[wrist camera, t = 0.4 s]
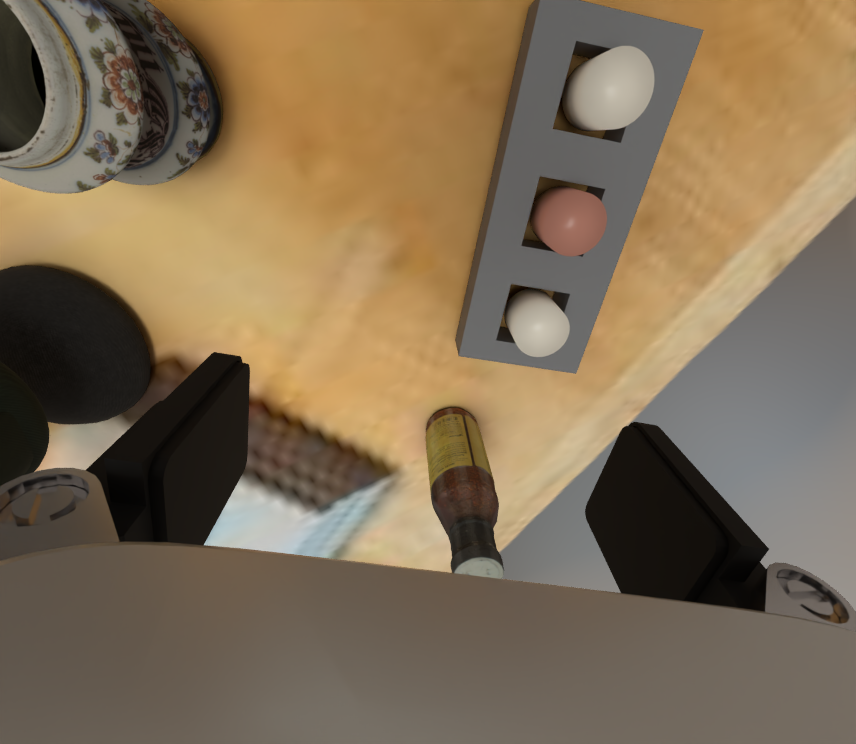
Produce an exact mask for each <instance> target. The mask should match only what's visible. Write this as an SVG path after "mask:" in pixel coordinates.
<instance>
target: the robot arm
mask: <svg viewBox="0 0 856 744" xmlns="http://www.w3.org/2000/svg"><path fill="white" fill-rule="evenodd" d="M249 379H250V367H249V365H248V364H246V363H242V358H241V357H240V356H234V355H228V354H222V353H216V352H214V353H212V354H211V355H210V356H209V357H208V358H207V359H206V360H205V361H204V362H203V363H202V364H201V365H200V366H199V367H198V368H197V369H196V370H195V371H194V372H193V373H192V374H191V375H189V376H188V377H187V378H186V379H185V380H184V381H183V382H182V383H181V384H180V385H179V386H178V387H177V388H176V389H175V390H174V391H173V392H172V393H171V394H170V395H169V396H168V397H167V398H166V399H165V400H164V401H159V402H158V403H156V404H155V405H154V406H153V407H152V408H151V409H150V410H149V411H147V412H146V413H145V414H144V415H143V416H142V417H141V418H140V419H139V420H138V421H137V422H136V423H135V424H134V425H133V426H132V427H131V428H130V429H129V430H127V431H126V432H125V433H124V434H123V435H122V436H121V437H120V438H119V439H118V440H117V441H116V442H115V443H114V444H113V445H112V446H111V447H110V448H109V449H107V450H106V451H105V452H104V453H103V454H102V455H101V456H100V457H99V458H98V459H97V460H96V461H95V462H94V463H93V464H92V465H91V466H90V467H89V468H87V469H86V470H80V469H75V468H53V469H47V470H41V471H36V472H33V473H30V474H26V475H23V476H20V477H18V478H16V479H14V480H11V481H9V482H7V483H5V484H3V485H2V486H0V744H856V611H855V610H854V609H853V608H852V606H851V605H850V604H849V602H848V601H847V600H846V599H845V598H843V596H841V594H839V593H838V592H837V591H836V590H835V589H833V588H832V587H831V586H830V585H828V584H827V583H826V582H824V581H823V580H821V579H820V578H818V577H816V576H815V575H813V574H811V573H810V572H808V571H805V570H803V569H801V568H799V567H797V566H793V565H790V564H786V563H773V564H771V565H769V566H768V568H767V569H765V568H764V567H763V565H762V564H761V563H760V561H761V559H762V558H763V557H764V555H765V554H766V553H767V551H768V550H769V548H768V547H767V546H766V545H765V544H764V543H763V542H762V541H761V540H760V538H758V536H757V535H756V534H755V533H754V532H753V531H752V530H751V528H750V527H749V526H748V525H747V524H746V523H745V522H744V521H743V520H742V519H741V517H740V516H739V515H738V514H737V513H736V512H735V511H734V510H733V509H732V507H731V506H730V505H729V504H728V503H727V502H726V501H725V500H724V499H723V497H722V496H721V495H720V494H719V493H718V492H717V491H716V490H715V489H714V487H713V486H712V485H711V484H710V483H709V482H708V481H707V480H706V479H705V477H703V475H702V474H701V473H700V472H699V471H698V470H697V469H696V467H695V466H694V465H693V464H692V463H691V462H690V461H689V460H688V459H687V458H686V456H685V455H684V454H683V453H682V452H681V451H680V450H679V449H678V447H677V446H676V445H675V444H674V443H673V442H672V441H671V440H670V439H669V437H668V436H667V435H666V434H665V433H664V432H663V431H662V430H661V429H660V428H659V427H658V426H656V425H650V424H644V423H638V422H633V423H631V424H630V425H629V426H626V427H624V428H623V429H622V430H621V432H620V434H619V436H618V438H617V440H616V443H615V445H614V447H613V449H612V451H611V453H610V456H609V458H608V460H607V462H606V464H605V466H604V468H603V471H602V473H601V475H600V477H599V479H598V481H597V484H596V485H595V488H594V490H593V492H592V494H591V496H590V499H589V501H588V503H587V505H586V510H585V514H586V519H587V522H588V523H589V526H590V528H591V530H592V532H593V534H594V536H595V538H596V541H597V543H598V545H599V547H600V549H601V551H602V553H603V556H604V558H605V560H606V562H607V564H608V566H609V568H610V570H611V572H612V575H613V577H614V579H615V581H616V583H617V585H618V587H619V589H620V591H621V593H615V592H607V591H597V590H590V589H582V588H574V587H565V586H557V585H549V584H540V583H532V582H523V581H515V580H507V579H498V578H490V577H482V576H473V575H465V574H457V573H448V572H440V571H432V570H423V569H415V568H407V567H398V566H390V565H381V564H373V563H364V562H355V561H346V560H338V559H329V558H320V557H311V556H303V555H294V554H285V553H276V552H268V551H259V550H250V549H241V548H230V547H218V546H206V545H204V543H205V541H206V540H207V538H208V536H209V534H210V532H211V530H212V529H213V527H214V525H215V523H216V521H217V519H218V518H219V516H220V514H221V512H222V510H223V508H224V507H225V505H226V503H227V501H228V499H229V497H230V496H231V494H232V492H233V490H234V488H235V486H236V485H237V483H238V481H239V479H240V477H241V475H242V474H243V472H244V469H245V466H246V462H247V451H248V415H249Z"/></svg>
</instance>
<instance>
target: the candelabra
mask: <svg viewBox="0 0 856 744" xmlns="http://www.w3.org/2000/svg"><path fill="white" fill-rule="evenodd" d="M150 371H151V367H150V357H149V353H148V349H147V346H146V343H145V341H144V339H143V337H142V334H141V333H140V331H139V329H138V327H137V325H136V324H135V322H134V320H133V319H132V318H131V317H129V315H128V314H127V313H126V312H125V310H124V309H123V308H122V307H121V306H120V305H119V304H118V303H117V302H116V301H115V300H114V299H112V298H111V297H109V296H108V295H107V294H105V293H104V292H103V291H102V290H100V289H99V288H97V287H95V286H94V285H92V284H90V283H89V282H87V281H85V280H83V279H81V278H79V277H76V276H74V275H72V274H69V273H66V272H63V271H60V270H57V269H52V268H47V267H42V266H16V267H10V268H7V269H3V270H0V486H2V485H3V484H5V483H7V482H9V481H11V480H14V479H16V478H18V477H20V476H23V475H26V474H30V473H33V472H34V471H35V470H36V469H37V468H38V467H39V465H40V464H41V462H42V460H43V458H44V456H45V454H46V452H47V448H48V443H49V427H48V422H51V423H58V424H87V423H96V422H100V421H104V420H108V419H110V418H112V417H115V416H117V415H119V414H121V413H123V412H124V411H126V410H128V409H129V408H131V407H132V406H134V405H135V404H136V403H137V402H138V401H139V400H140V399H141V397H142V396H143V394H144V392H145V391H146V389H147V386H148V383H149V380H150Z"/></svg>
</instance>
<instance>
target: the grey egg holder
mask: <svg viewBox="0 0 856 744" xmlns="http://www.w3.org/2000/svg"><path fill="white" fill-rule="evenodd" d="M703 31H704V30H702V29H697V28H693V27H689V26H685V25H681V24H676V23H672V22H668V21H664V20H660V19H656V18H651V17H647V16H643V15H639V14H635V13H630V12H626V11H622V10H618V9H614V8H609V7H605V6H601V5H597V4H593V3H589V2H584V1H580V0H535V1H534V2H533V3H532V4H531V5H530V7H529V9H528V14H527V18H526V23H525V27H524V32H523V36H522V41H521V45H520V50H519V54H518V59H517V63H516V68H515V72H514V77H513V81H512V86H511V91H510V95H509V100H508V104H507V109H506V113H505V118H504V122H503V127H502V131H501V136H500V140H499V145H498V149H497V154H496V158H495V163H494V167H493V172H492V177H491V181H490V186H489V190H488V195H487V199H486V204H485V208H484V213H483V217H482V222H481V226H480V231H479V235H478V240H477V244H476V249H475V253H474V258H473V262H472V267H471V272H470V276H469V281H468V285H467V290H466V294H465V299H464V303H463V308H462V312H461V317H460V321H459V326H458V330H457V335H456V339H455V340H456V345H457V350H458V355H459V356H461V357H468V358H475V359H482V360H488V361H495V362H502V363H508V364H515V365H522V366H528V367H535V368H542V369H548V370H555V371H562V372H569V373H575V374H576V372H577V370H578V367H579V364H580V362H581V359H582V356H583V354H584V351H585V348H586V346H587V343H588V340H589V337H590V335H591V332H592V329H593V327H594V324H595V321H596V319H597V316H598V313H599V311H600V308H601V305H602V302H603V300H604V297H605V294H606V292H607V289H608V286H609V284H610V281H611V278H612V276H613V273H614V270H615V267H616V265H617V262H618V259H619V257H620V254H621V251H622V249H623V246H624V243H625V241H626V238H627V235H628V232H629V230H630V227H631V224H632V222H633V219H634V216H635V214H636V211H637V208H638V206H639V203H640V200H641V197H642V195H643V192H644V189H645V187H646V184H647V181H648V179H649V176H650V173H651V171H652V168H653V165H654V162H655V160H656V157H657V154H658V152H659V149H660V146H661V144H662V141H663V138H664V136H665V133H666V130H667V127H668V125H669V122H670V119H671V117H672V114H673V111H674V109H675V106H676V103H677V101H678V98H679V95H680V93H681V90H682V87H683V84H684V82H685V79H686V76H687V74H688V71H689V68H690V66H691V63H692V60H693V58H694V55H695V52H696V49H697V47H698V44H699V41H700V39H701V36H702V33H703ZM619 46H632V47H635V48H638V49H640V50H641V51H642V52H644V53H645V54H646V55H647V57H648V58H649V60H650V62H651V64H652V67H653V70H654V89H653V93H652V97H651V99H650V101H649V103H648V105H647V107H646V109H645V110H644V112H643V113H642V114H641V115H640V116H639V117H638V118H637V119H636V120H635V121H634V122H632V123H631V124H629V125H627V126H625V127H623V128H619V129H612V130H606V131H605V134H604V138H603V139H599V138H595V137H590V136H585V135H580V134H575V133H570V132H566V131H561V130H556V129H553V125H554V122H555V118H556V114H557V110H558V107H559V103H560V99H561V95H562V92H563V88H564V84H565V80H566V77H567V73H568V69H569V65H570V62H571V58H572V54H575V55H580V56H584V57H589V58H594V57H596V56H598V55H600V54H602V53H604V52H606V51H609V50H611V49H613V48H616V47H619ZM540 176H541V177H547V178H552V179H557V180H562V181H567V182H572V183H577V184H582V185H588V188H587V191H586V192H587V193H591V194H593V195H595V196H596V197H597V198H598V199H600V201H601V202H602V203H603V205H604V207H605V210H606V214H607V224H606V229H605V232H604V234H603V236H602V238H601V239H600V241H599V242H598V243H597V245H596V246H595V247H593V248H592V249H591V250H590V251H588V252H586V253H584V254H582V255H578V256H564V255H561V254H558V253H557V252H555V251H554V250H553V249H551V248H550V247H549V246H547V245H546V244H545V243H542V242H537V241H531V240H525V239H523V238H524V234H525V230H526V226H527V223H528V219H529V215H530V212H531V208H532V204H533V200H534V197H535V193H536V189H537V185H538V182H539V178H540ZM511 284H515V285H520V286H526V287H532V288H538V289H544V290H550V291H555V293H554V296H553V299H552V300H553V301H554V302H555V303H556V304H557V306H558V307H559V308H560V309H561V310H562V311H563V312H564V314H565V315H566V316H567V318H568V321H569V325H570V331H569V336H568V338H567V340H566V342H565V343H564V345H563V346H562V347H561V348H560V349H559V350H558V351H556V352H555V353H553V354H551V355H548V356H544V357H533V356H529V355H527V354H525V353H523V352H522V351H521V350H520V349H519V348H518V346H517V345H516V343H515V341H514V339H513V337H512V335H511V333H510V331H509V329H508V328H505V327H500V324H501V320H502V316H503V313H504V309H505V305H506V301H507V298H508V294H509V290H510V286H511Z"/></svg>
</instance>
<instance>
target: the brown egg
mask: <svg viewBox="0 0 856 744" xmlns="http://www.w3.org/2000/svg"><path fill="white" fill-rule="evenodd" d="M530 223H531V227H532V230H533V232H534V234H535V235H536V236H537V238H539V239H540V240H541V241H542V242H544V243H545V244H546V245H547V246H549V247H550V248H551V249H553V250H554V251H555V252H557V253H558V254H561V255H564V256H578V255H582V254H584V253H586V252H588V251H590V250H591V249H592V248H593V247H595V246H596V245H597V243H598V242H599V241H600V239H601V238H602V236H603V234H604V232H605V229H606V224H607V214H606V210H605V207H604V205H603V203H602V202H601V201H600V199H598V198H597V197H596V196H595V195H593V194H591V193H587V192H584V191H581V190H577V189H574V188H570V187H567V186H557V187H553V188H551V189H548V190H547V191H545V192H544V193H543V194H541V195H540V196H539V197H538V199H537V200H536V202H535V203H534V205H533V207H532V210H531V215H530Z"/></svg>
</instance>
